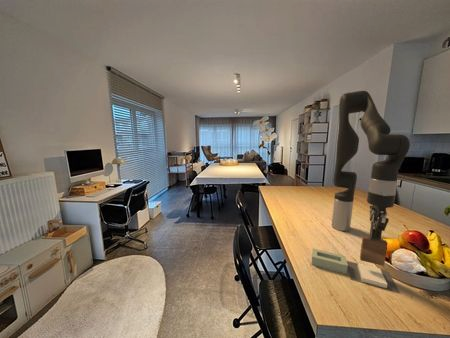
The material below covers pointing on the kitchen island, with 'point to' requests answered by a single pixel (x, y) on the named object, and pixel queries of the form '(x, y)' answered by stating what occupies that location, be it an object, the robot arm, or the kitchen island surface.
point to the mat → (356, 277)
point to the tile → (372, 275)
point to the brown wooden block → (373, 249)
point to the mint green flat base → (329, 261)
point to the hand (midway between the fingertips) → (374, 236)
